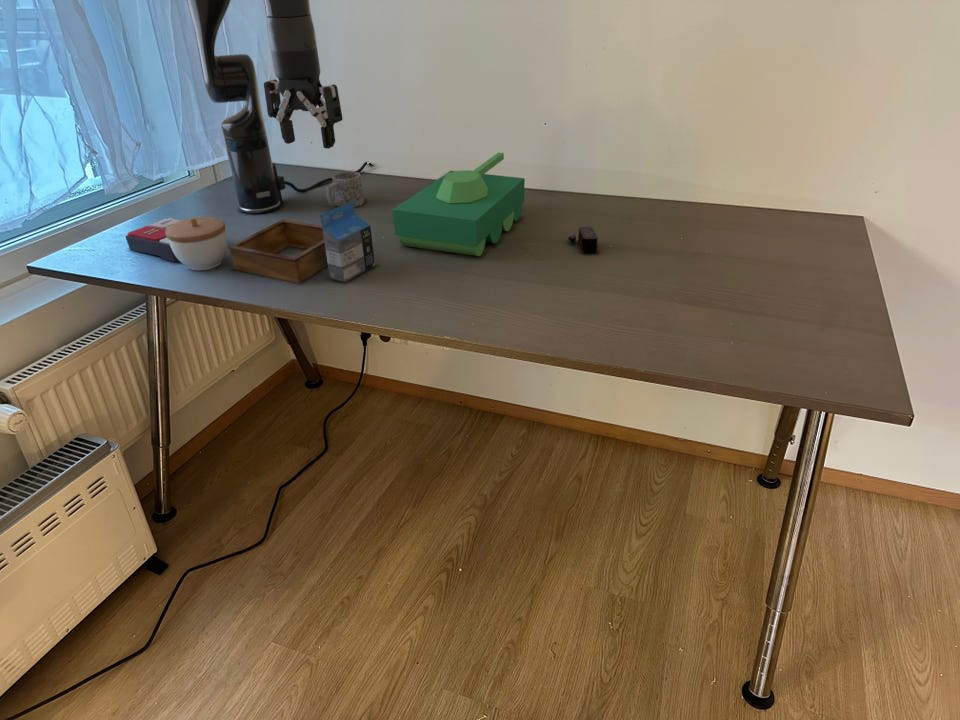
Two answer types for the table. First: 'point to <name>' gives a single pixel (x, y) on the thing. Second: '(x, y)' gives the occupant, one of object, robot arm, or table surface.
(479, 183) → the green tank
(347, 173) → the mug
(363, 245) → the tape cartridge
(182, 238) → the trinket box
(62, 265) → the table surface
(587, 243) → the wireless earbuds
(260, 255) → the wooden square tray
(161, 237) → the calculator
